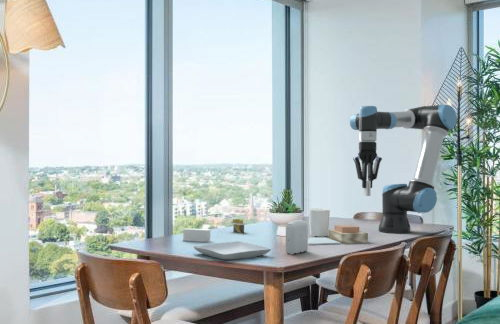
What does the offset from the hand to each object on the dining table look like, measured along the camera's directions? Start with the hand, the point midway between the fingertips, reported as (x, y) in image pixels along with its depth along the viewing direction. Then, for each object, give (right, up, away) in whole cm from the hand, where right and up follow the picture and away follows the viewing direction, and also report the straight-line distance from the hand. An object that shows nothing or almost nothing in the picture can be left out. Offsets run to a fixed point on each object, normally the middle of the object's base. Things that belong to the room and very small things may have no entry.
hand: (367, 195), depth 247 cm
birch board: (-9, -19, -2) cm, 21 cm away
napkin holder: (-74, -20, -5) cm, 77 cm away
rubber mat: (-22, -19, -6) cm, 30 cm away
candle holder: (-19, -19, +14) cm, 31 cm away
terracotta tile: (-9, -15, -2) cm, 18 cm away
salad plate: (-58, -20, -40) cm, 73 cm away
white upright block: (-33, -20, -34) cm, 51 cm away
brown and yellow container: (-57, -19, +22) cm, 64 cm away
